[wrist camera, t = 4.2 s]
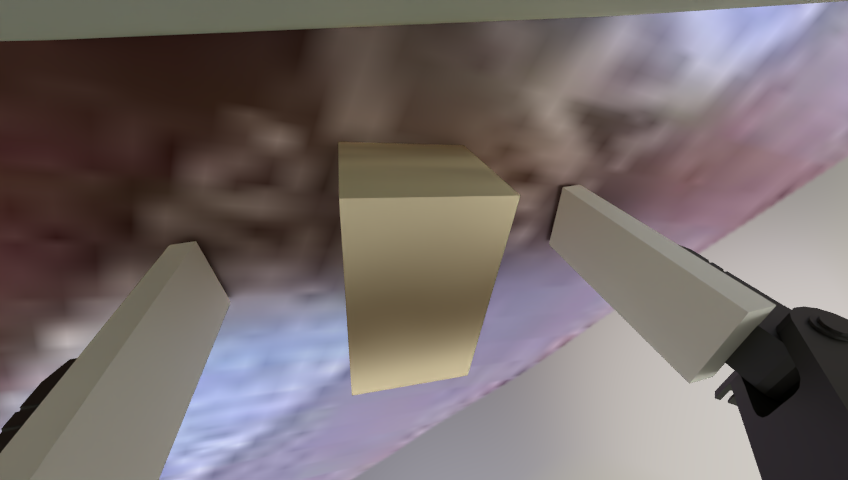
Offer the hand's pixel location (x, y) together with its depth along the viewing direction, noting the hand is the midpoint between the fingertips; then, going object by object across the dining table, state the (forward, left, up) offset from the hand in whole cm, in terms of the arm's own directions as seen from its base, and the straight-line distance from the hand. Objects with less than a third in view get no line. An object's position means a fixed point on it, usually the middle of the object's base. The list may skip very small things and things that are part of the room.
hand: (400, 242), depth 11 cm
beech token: (0, 0, 0) cm, 0 cm away
